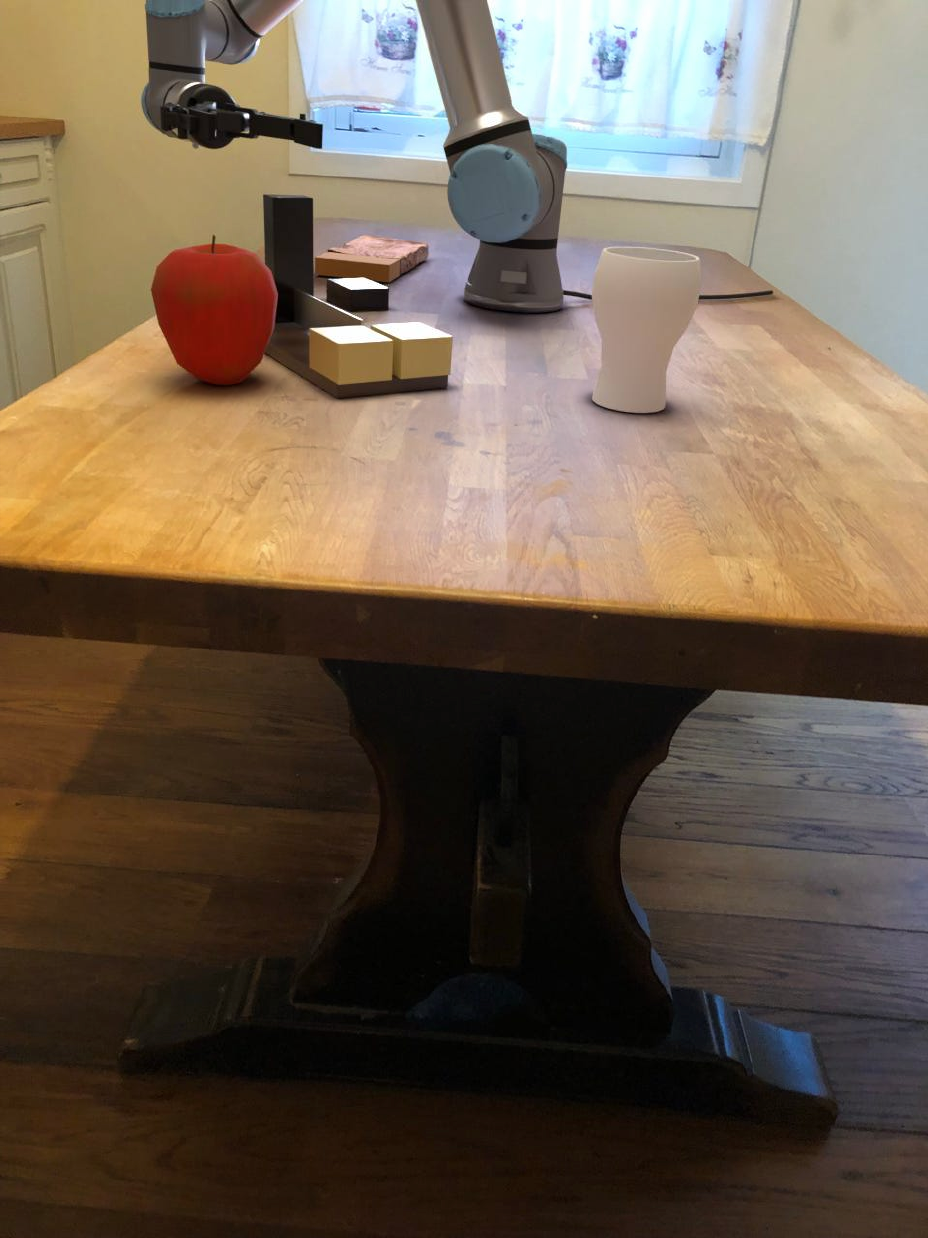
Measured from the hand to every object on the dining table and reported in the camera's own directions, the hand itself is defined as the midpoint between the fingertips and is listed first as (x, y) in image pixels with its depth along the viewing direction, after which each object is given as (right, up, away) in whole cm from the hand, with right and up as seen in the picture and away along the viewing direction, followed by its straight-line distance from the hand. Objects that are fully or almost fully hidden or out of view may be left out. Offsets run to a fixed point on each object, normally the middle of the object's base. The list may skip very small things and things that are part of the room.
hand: (267, 131), depth 112 cm
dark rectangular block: (+8, -12, +25) cm, 29 cm away
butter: (+14, -32, -13) cm, 37 cm away
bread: (+8, +4, +55) cm, 56 cm away
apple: (-2, -33, -15) cm, 36 cm away
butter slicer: (+7, -25, -2) cm, 26 cm away
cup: (+41, -35, -11) cm, 55 cm away
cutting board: (+7, -27, -2) cm, 28 cm away
